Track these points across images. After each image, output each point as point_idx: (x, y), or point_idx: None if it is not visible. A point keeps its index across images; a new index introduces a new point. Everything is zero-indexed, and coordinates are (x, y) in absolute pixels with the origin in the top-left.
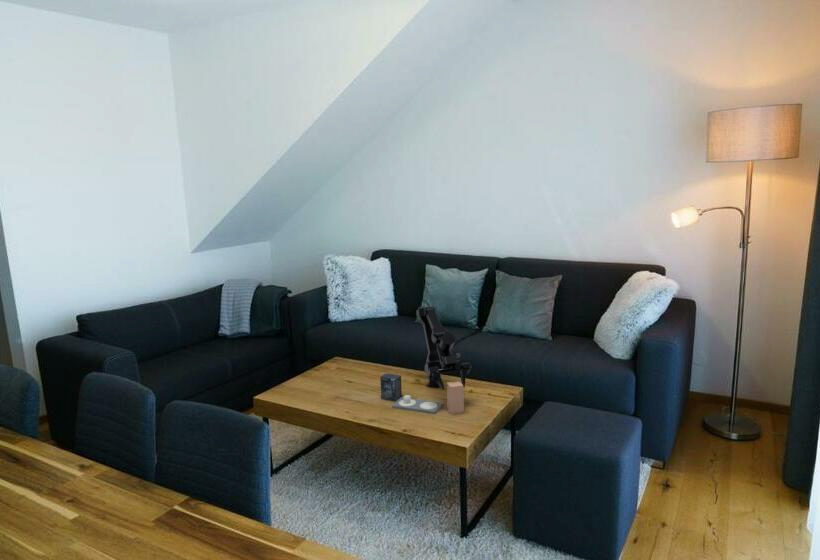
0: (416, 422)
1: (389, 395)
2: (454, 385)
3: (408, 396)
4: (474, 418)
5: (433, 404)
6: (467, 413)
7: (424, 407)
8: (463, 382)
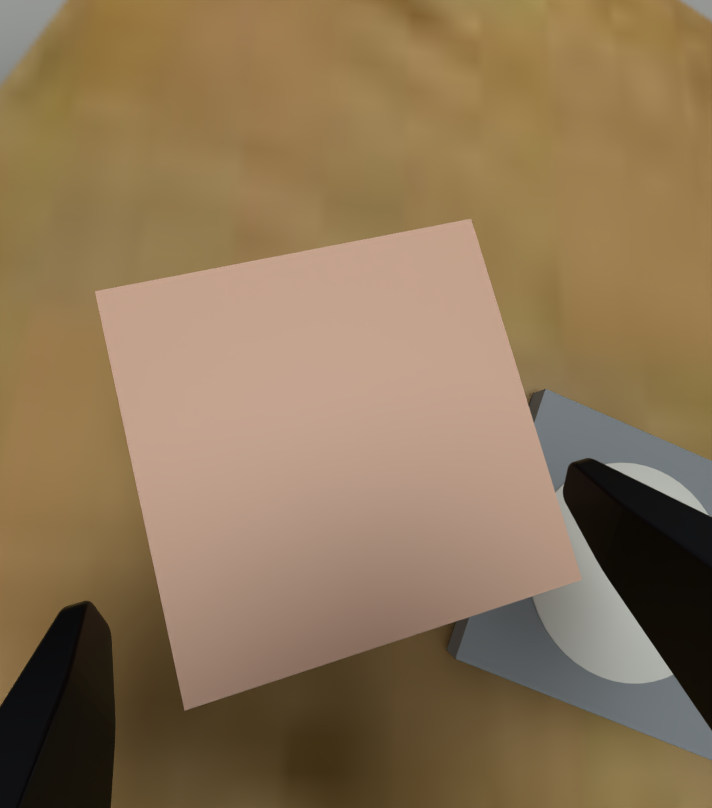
0: (694, 221)
1: None
2: (364, 314)
3: None
4: (111, 240)
5: (575, 595)
6: None
7: None
8: (52, 702)
